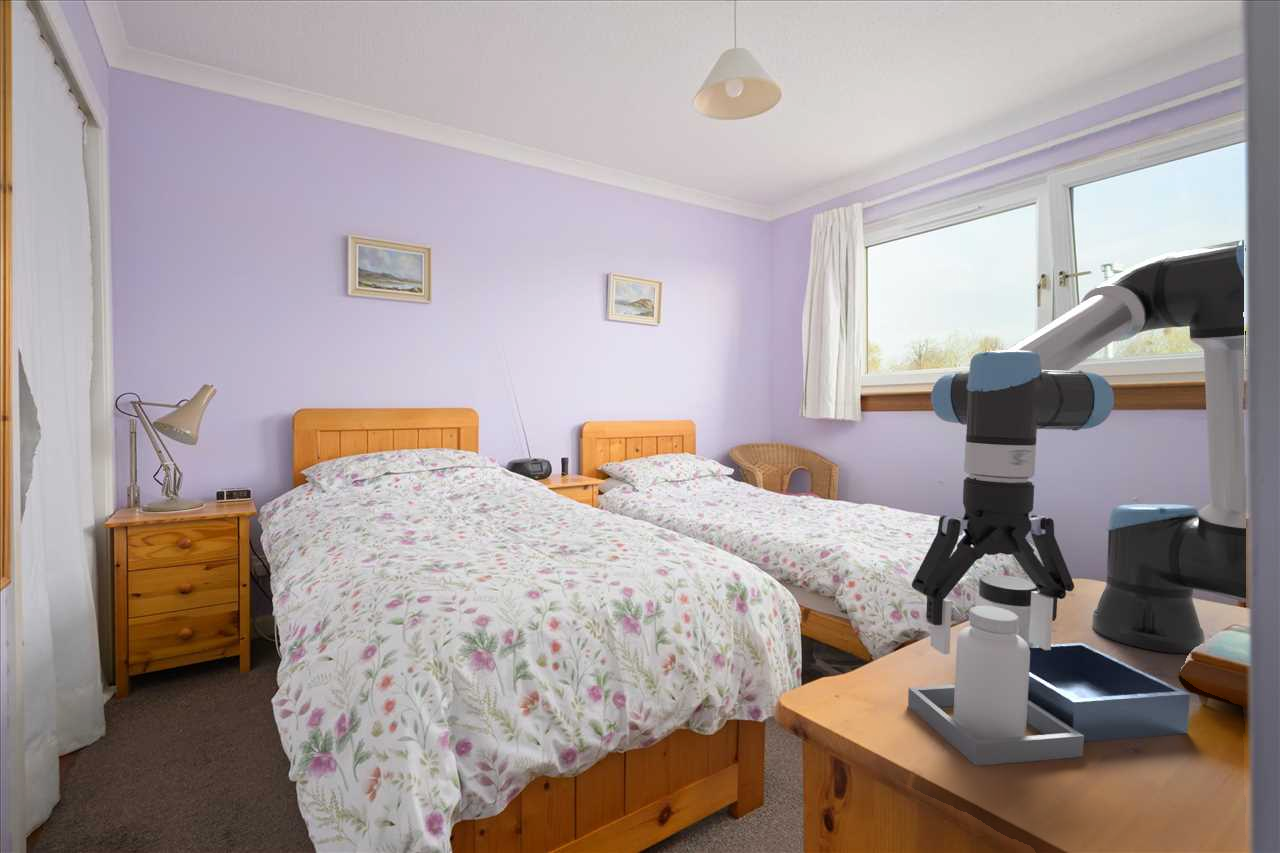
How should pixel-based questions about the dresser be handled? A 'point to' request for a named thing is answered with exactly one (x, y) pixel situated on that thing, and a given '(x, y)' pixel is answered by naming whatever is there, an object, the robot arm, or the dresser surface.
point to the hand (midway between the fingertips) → (990, 648)
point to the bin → (1103, 694)
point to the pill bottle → (991, 675)
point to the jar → (1008, 598)
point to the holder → (1001, 750)
